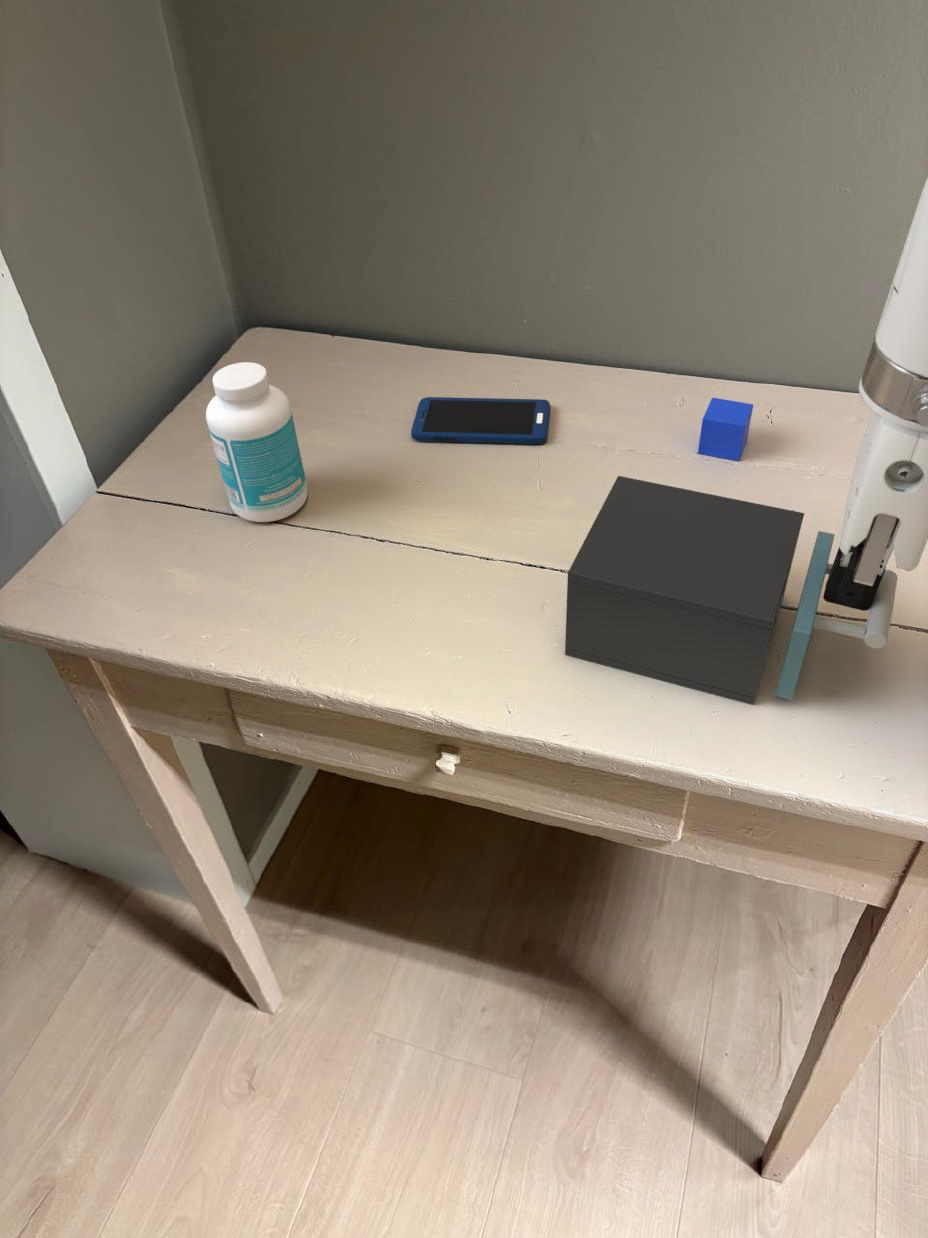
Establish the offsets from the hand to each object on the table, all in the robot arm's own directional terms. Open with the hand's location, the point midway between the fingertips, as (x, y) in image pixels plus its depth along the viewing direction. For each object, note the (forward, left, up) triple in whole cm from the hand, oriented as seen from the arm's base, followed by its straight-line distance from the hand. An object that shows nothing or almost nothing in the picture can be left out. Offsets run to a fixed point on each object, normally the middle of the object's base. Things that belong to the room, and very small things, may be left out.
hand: (846, 598), depth 69 cm
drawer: (+6, 0, -5) cm, 8 cm away
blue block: (+14, -26, -6) cm, 30 cm away
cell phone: (+38, -22, -6) cm, 44 cm away
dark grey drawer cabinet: (+12, 0, -6) cm, 13 cm away
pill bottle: (+52, -3, -6) cm, 52 cm away
